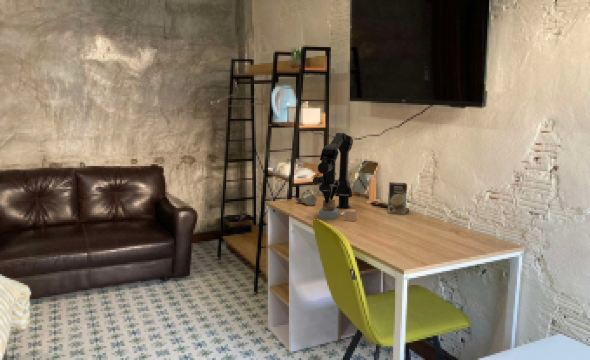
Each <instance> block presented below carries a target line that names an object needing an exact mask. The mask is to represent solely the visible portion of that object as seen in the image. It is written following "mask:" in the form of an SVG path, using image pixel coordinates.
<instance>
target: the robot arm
mask: <svg viewBox="0 0 590 360" xmlns="http://www.w3.org/2000/svg"><path fill="white" fill-rule="evenodd" d="M353 145H354V139H353V137H352V136H350V135H348V134H346V133H345V132H336V133H335V135H334V137H333V139H332V141H330V143H329V144H326V145H325V146H324V147H323V148H322V149H321V153H320V156H319V161H321V162H320V163H319V164H318V166H317V171H318V172H319V174H322V175H321V176H317V175H316V176H313V179H312V183H313V185H314V186H317V185H319V184H320V185H319V186H318V191H320V192H321V193H322V194H323V198H324V200H325V202H326V203H328V201H329V199H330V200H334V197H338V205H337V206H336V208H339V209H350V207H351V205H350V203H349V202H350V198H352V197H353V189H352V187H351V183H350V180H349V177H348V176H349V175H348V174H349V173H348V172H349V155H350V154H349V153H350V152H351V149H352V148H353ZM338 156H339V175H338V176H339V177H338V179H336V176H337V172H336V162H337V160H338Z"/></svg>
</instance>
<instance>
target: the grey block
mask: <svg viewBox="0 0 590 360" xmlns="http://www.w3.org/2000/svg"><path fill="white" fill-rule="evenodd" d="M339 210H340V208H337V207H335V209H334V210H333V211H323V207H321V208H320V209H319V211H318V218H319V219H324V220H325V219H326V220H327V219H328V220H337V219H338V217H339V215H340V213H339Z"/></svg>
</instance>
